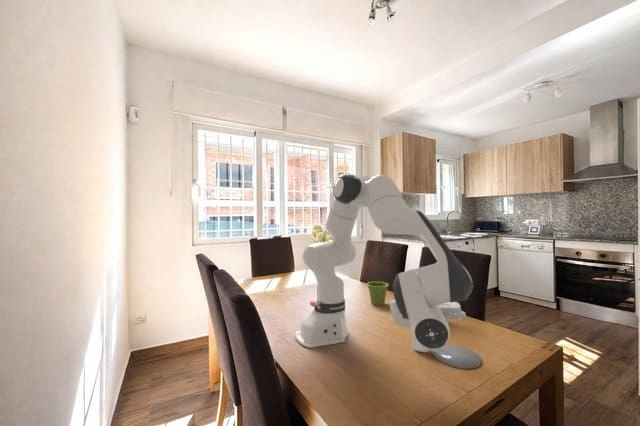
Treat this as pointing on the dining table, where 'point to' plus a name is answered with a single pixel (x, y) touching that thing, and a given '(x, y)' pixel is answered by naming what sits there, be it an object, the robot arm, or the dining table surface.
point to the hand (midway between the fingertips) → (422, 302)
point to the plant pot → (377, 292)
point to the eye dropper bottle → (419, 346)
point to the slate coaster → (457, 357)
